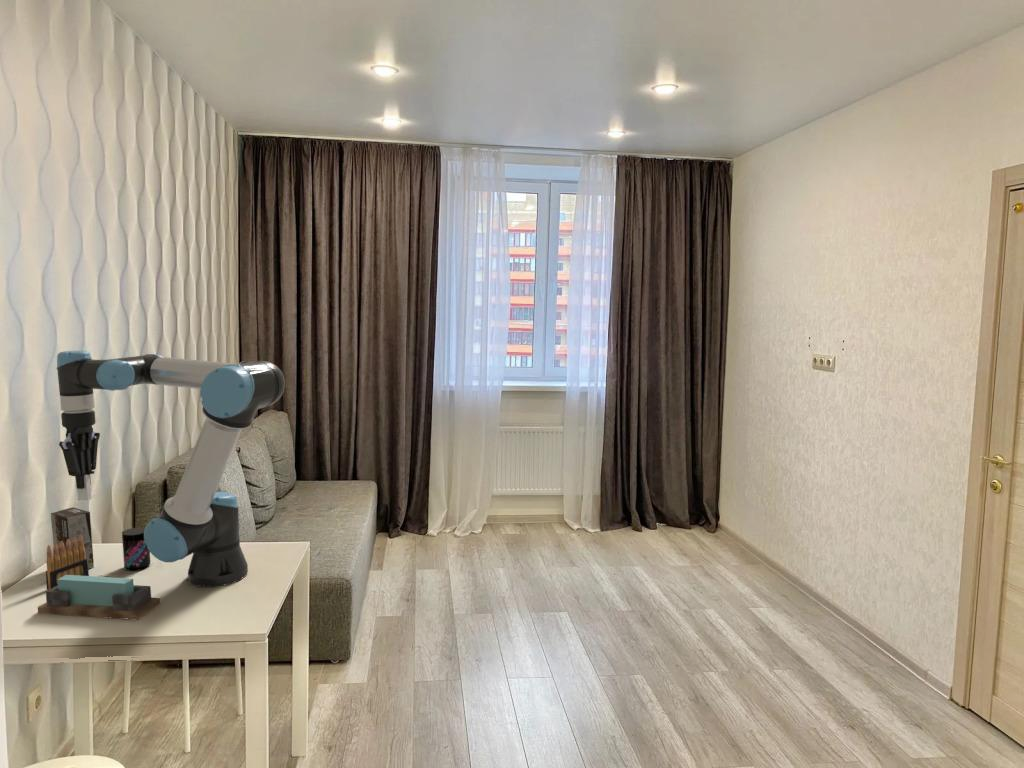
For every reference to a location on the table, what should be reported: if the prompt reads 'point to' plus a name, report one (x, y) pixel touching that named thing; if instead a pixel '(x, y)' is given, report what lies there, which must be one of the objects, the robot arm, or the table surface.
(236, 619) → the table surface
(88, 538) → the coffee box
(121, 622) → the table surface
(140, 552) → the supplement container
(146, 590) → the frame
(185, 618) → the table surface
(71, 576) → the slat
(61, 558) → the ammunition clip
